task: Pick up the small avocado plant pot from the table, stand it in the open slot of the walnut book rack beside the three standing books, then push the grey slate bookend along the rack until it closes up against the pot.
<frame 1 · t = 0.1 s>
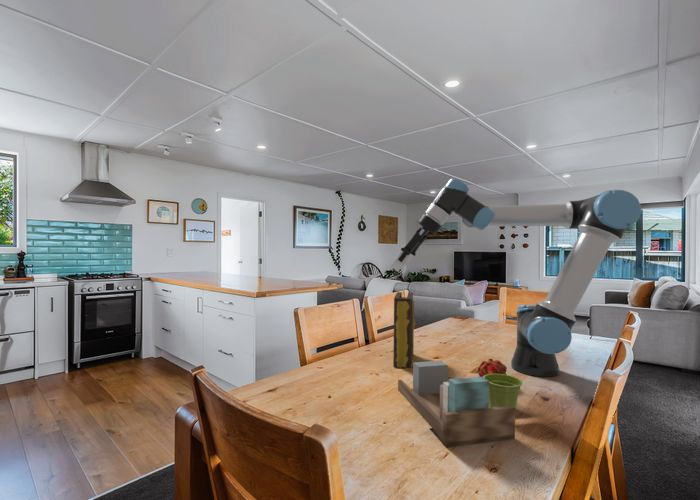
hand: (396, 268, 126), 36 cm above the table, tool tilted 35°, fingers open, 13 cm apart
book rack: (448, 413, 91), on the table
bookend: (429, 390, 103), point 1 cm above the table, touching book rack
plant pot: (502, 413, 92), on the table
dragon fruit: (492, 386, 111), on the table
book: (403, 359, 136), on the table
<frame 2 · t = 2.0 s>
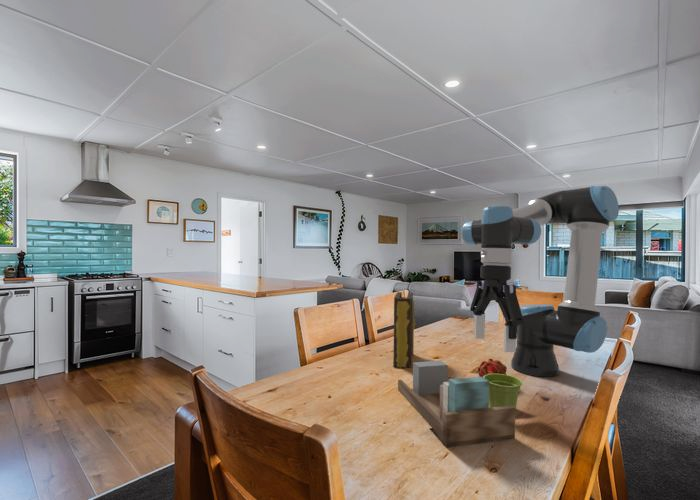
hand: (493, 344, 93), 17 cm above the table, tool pointing down, fingers open, 13 cm apart
nothing on the table moved.
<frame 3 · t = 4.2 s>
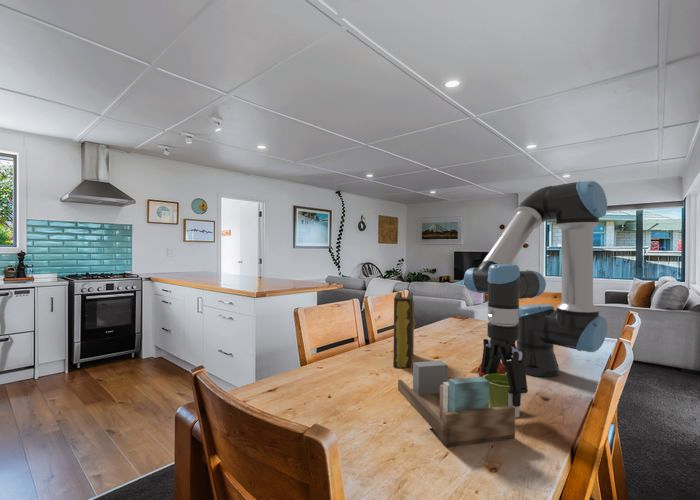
hand: (502, 409, 92), 1 cm above the table, tool pointing down, fingers closed on plant pot, 8 cm apart
plant pot: (502, 413, 92), on the table, touching gripper
everything else where it was.
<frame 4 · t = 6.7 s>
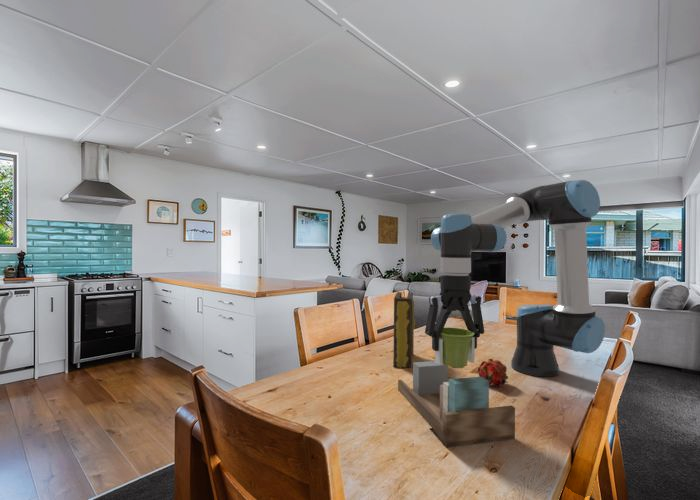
hand: (454, 362, 91), 14 cm above the table, tool pointing down, fingers closed on plant pot, 8 cm apart
plant pot: (454, 365, 91), point 13 cm above the table, touching gripper
everything else where it was.
when the fingers open (3 cm above the table, at t = 9.0 s): plant pot moves 1 cm, resting on book rack.
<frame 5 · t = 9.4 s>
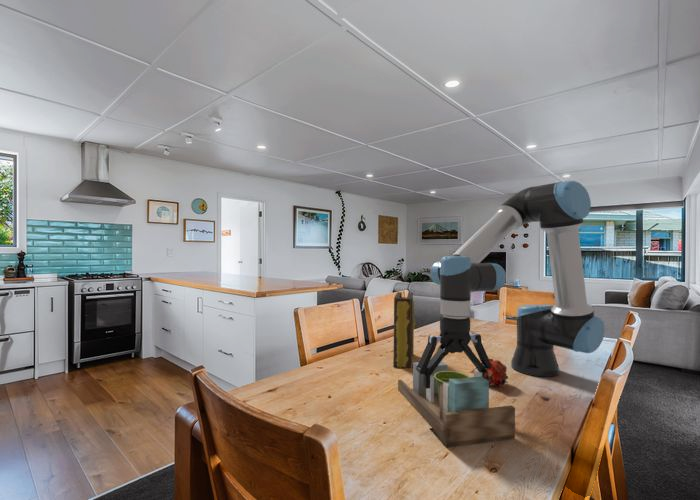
hand: (454, 398, 91), 4 cm above the table, tool pointing down, fingers open, 13 cm apart
plant pot: (452, 411, 91), point 1 cm above the table, touching book rack
everything else where it was.
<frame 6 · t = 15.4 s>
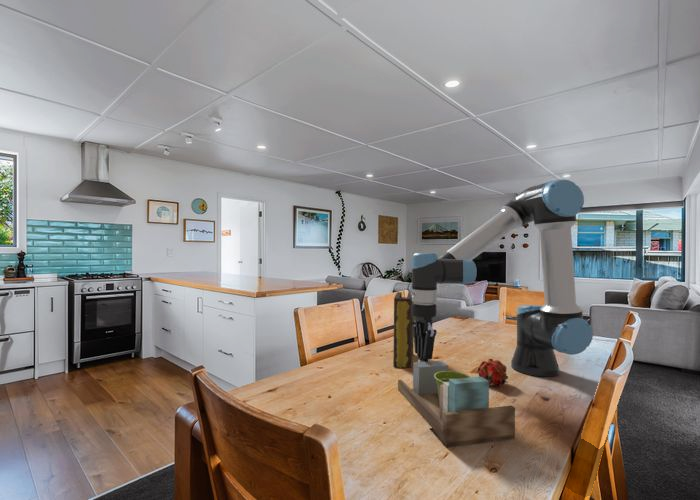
hand: (422, 379, 108), 3 cm above the table, tool pointing down, fingers closed
bookend: (429, 390, 103), point 1 cm above the table, touching book rack, gripper
everything else where it was.
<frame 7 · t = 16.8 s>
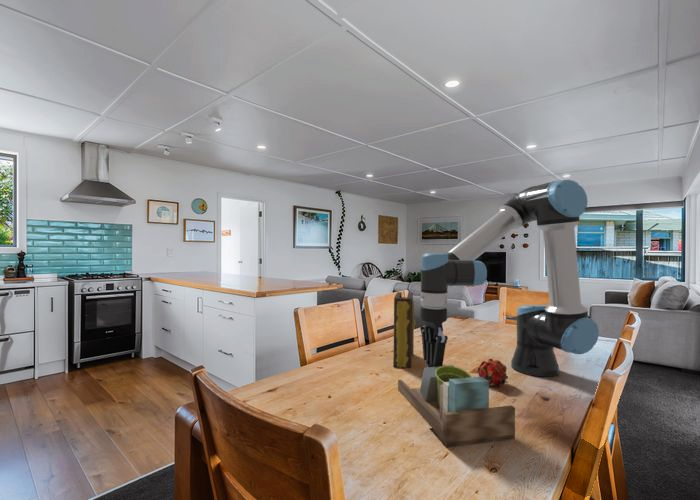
hand: (432, 388, 102), 2 cm above the table, tool pointing down, fingers closed
bookend: (437, 394, 99), point 2 cm above the table, tilted 20°, touching gripper, hand, plant pot
plant pot: (449, 405, 92), point 1 cm above the table, touching book rack, bookend
everything else where it was.
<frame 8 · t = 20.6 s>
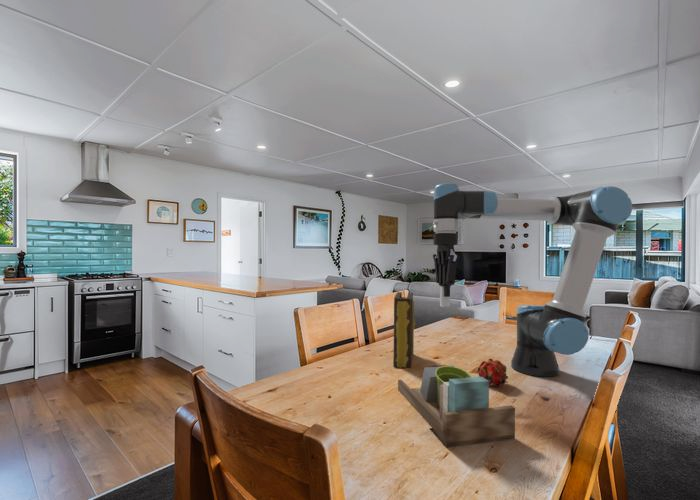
hand: (444, 306, 112), 24 cm above the table, tool pointing down, fingers closed
bookend: (437, 395, 99), point 2 cm above the table, tilted 19°, touching book rack, plant pot
everything else where it was.
at the end: plant pot inside the target area (1.7 cm from its centre), point 1.5 cm above the table; plant pot tilted 13°; bookend 6.7 cm from the plant pot (horizontally) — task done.
